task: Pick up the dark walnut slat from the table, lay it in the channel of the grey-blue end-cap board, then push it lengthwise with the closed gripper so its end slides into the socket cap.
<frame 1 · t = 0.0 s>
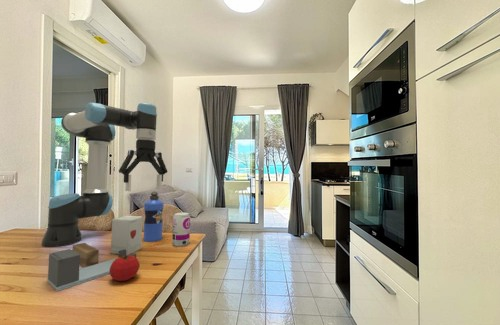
hand: (144, 190, 95), 28 cm above the table, fingers open, 13 cm apart
supplement box: (126, 251, 101), on the table
water bottle: (152, 239, 119), on the table
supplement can: (180, 244, 112), on the table
walnut slat: (84, 263, 88), on the table
tomato: (124, 279, 75), on the table
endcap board: (95, 272, 80), on the table
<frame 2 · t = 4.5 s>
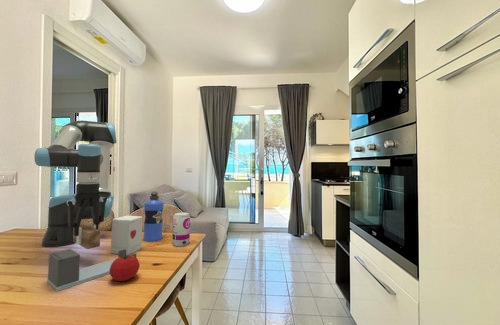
hand: (85, 242, 89), 8 cm above the table, fingers closed on walnut slat, 4 cm apart
walnut slat: (86, 243, 89), point 7 cm above the table, touching gripper
everything else where it was.
when the fingers open (1 cm above the table, at t = 7.6 s): walnut slat stays where it is, resting on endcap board.
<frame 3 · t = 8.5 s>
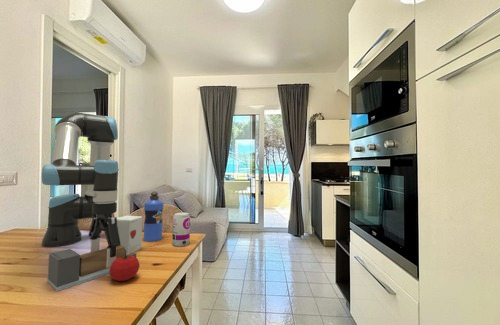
hand: (102, 261, 81), 3 cm above the table, fingers open, 13 cm apart
walnut slat: (101, 267, 81), point 1 cm above the table, touching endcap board
everything else where it was.
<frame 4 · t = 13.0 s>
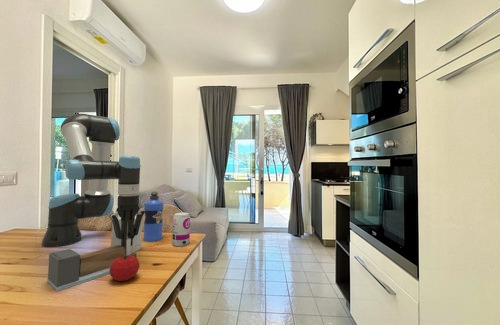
hand: (126, 255, 88), 3 cm above the table, fingers closed
walnut slat: (100, 268, 81), point 1 cm above the table, touching gripper
everything else where it was.
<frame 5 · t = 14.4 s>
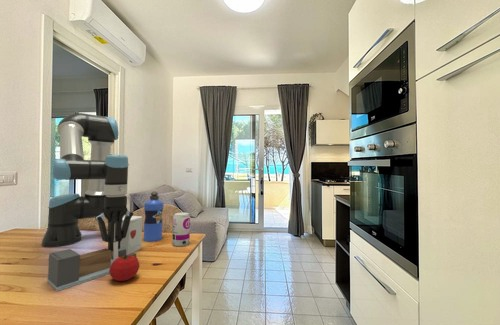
hand: (113, 258, 84), 3 cm above the table, fingers closed
walnut slat: (85, 272, 77), point 1 cm above the table, touching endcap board, gripper
everything else where it was.
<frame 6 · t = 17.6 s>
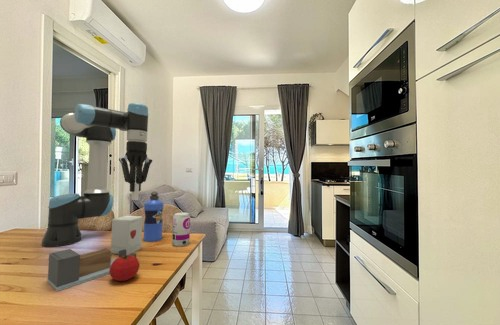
hand: (134, 199, 91), 24 cm above the table, fingers closed
walnut slat: (85, 272, 77), point 1 cm above the table, touching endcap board
everything else where it was.
at the end: walnut slat 0.7 cm from the target spot on the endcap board, point 1.0 cm above the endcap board's base; walnut slat tilted 0°; the gripper is holding nothing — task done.
